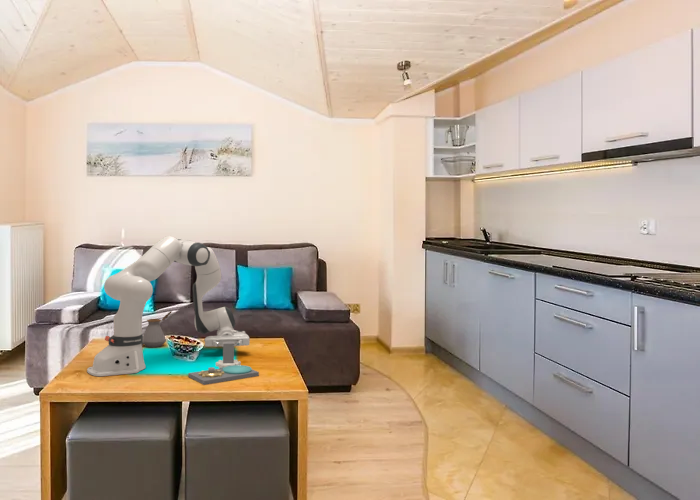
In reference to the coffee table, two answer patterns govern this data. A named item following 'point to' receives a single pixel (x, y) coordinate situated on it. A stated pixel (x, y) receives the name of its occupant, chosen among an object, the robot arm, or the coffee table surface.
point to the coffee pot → (154, 333)
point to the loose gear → (228, 356)
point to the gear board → (223, 374)
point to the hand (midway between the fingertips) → (227, 344)
